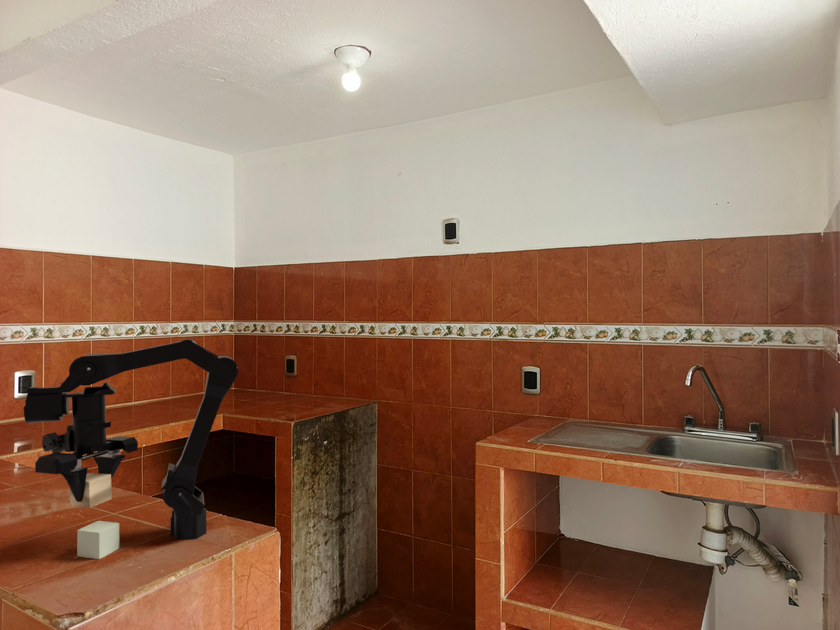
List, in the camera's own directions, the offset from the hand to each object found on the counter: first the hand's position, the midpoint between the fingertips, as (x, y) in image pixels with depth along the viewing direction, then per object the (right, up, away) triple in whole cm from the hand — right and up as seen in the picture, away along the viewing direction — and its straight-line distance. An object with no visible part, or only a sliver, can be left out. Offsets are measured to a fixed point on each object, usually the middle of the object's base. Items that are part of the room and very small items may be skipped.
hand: (91, 497), depth 111 cm
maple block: (0, -1, 0) cm, 1 cm away
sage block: (+3, -10, -2) cm, 11 cm away
